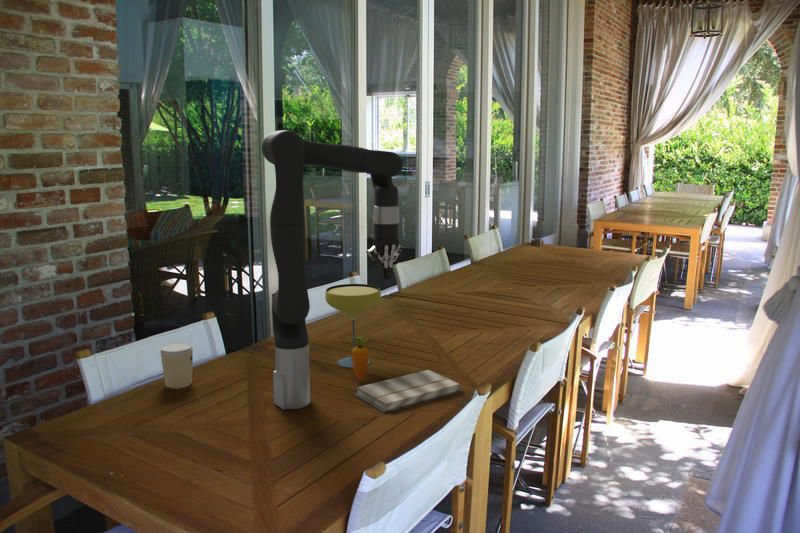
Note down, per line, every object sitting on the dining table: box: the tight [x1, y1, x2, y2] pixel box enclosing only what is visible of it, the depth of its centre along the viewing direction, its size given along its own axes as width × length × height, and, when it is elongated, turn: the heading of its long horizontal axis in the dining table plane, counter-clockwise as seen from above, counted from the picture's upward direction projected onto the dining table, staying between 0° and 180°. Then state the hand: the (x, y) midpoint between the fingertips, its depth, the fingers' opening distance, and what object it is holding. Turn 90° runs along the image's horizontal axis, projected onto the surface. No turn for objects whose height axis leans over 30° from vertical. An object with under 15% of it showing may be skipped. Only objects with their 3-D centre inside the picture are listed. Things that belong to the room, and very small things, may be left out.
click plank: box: [356, 369, 446, 403], centre depth 197 cm, size 26×9×2 cm, turn 125°
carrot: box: [351, 334, 369, 384], centre depth 202 cm, size 5×5×15 cm
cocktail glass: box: [324, 283, 382, 369], centre depth 219 cm, size 18×18×25 cm
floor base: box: [353, 377, 464, 414], centre depth 195 cm, size 28×16×3 cm, turn 125°
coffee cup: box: [159, 342, 194, 388], centre depth 200 cm, size 9×9×12 cm
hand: (386, 279), depth 197 cm, fingers closed
